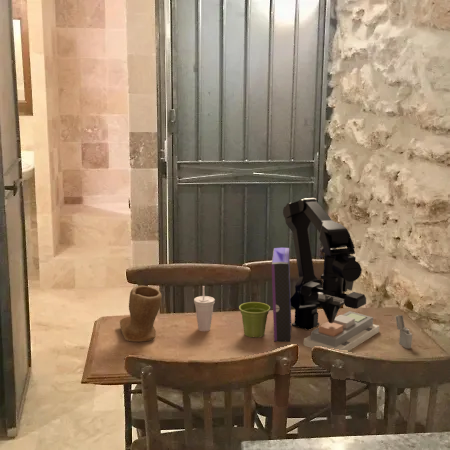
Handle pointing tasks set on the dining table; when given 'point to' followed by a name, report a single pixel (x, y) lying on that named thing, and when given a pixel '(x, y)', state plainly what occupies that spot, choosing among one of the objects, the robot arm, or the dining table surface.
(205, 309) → the smoothie
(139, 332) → the brown clay boot
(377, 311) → the dining table surface
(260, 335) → the plant pot
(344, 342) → the grey piece
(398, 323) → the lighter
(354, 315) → the sage key
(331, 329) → the clay key
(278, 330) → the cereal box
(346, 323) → the grey key
